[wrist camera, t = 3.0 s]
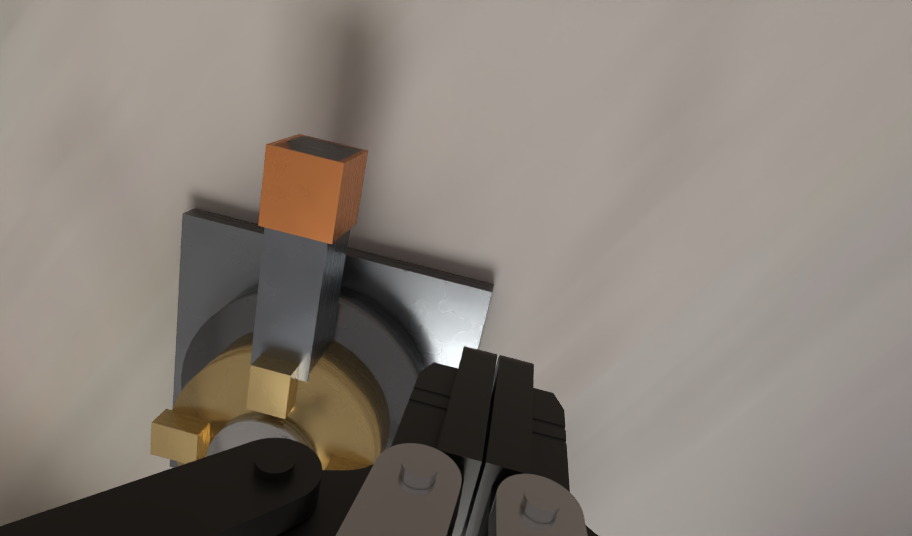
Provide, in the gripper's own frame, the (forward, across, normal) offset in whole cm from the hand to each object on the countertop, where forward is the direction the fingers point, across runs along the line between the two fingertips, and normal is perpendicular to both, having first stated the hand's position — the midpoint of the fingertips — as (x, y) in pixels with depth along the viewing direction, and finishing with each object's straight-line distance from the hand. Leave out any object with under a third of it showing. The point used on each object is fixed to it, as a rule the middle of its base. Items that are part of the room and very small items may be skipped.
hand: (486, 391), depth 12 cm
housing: (+15, +8, +11) cm, 20 cm away
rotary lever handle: (+12, +8, +7) cm, 16 cm away
